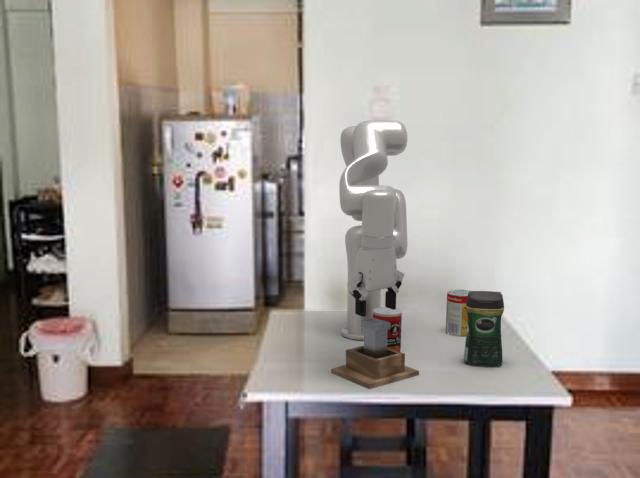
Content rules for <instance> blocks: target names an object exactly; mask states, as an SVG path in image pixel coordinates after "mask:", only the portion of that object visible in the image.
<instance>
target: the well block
mask: <svg viewBox="0 0 640 478" xmlns="http://www.w3.org/2000/svg"><path fill="white" fill-rule="evenodd" d="M405 364H406V354H405V352H402V351H400V352H399V351H396V350H393V349H390V348H387V356H386V357H382V358H378V359H375V358H373V357H370V356H367V355H365V354H364V345H361V346H356V347H352V348H348V349H345V364H344V365H340V366H336V367H332V368H331V369H330V372H331V374H334V375H336V376H338V377H340V378H344V379H346V380H347V381H350V382H353V383H356V384H357V385H359V386H363V387H365V388H367V389H369V390H370V389H374V388H377V387H380V386H384V385H387V384H390V383H391V384H392V383H394V382H397V381H401V380H405V379H408V378H412V377H415V376H419V375H420V371H419V370H417V369H415V368H413V367H410V366H407V365H405Z"/></svg>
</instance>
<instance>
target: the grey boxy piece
mask: <svg viewBox="0 0 640 478" xmlns="http://www.w3.org/2000/svg"><path fill="white" fill-rule="evenodd" d="M361 326H362V327H364V340H363V346H364V354H365V355H367V356H370V357H373V358H375V359H378V358H382V357H386V356H387V332H388V329H390V328H391V323H389V322H386V321H383V320H380V319H376V318H370V319H365V320H361Z"/></svg>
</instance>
